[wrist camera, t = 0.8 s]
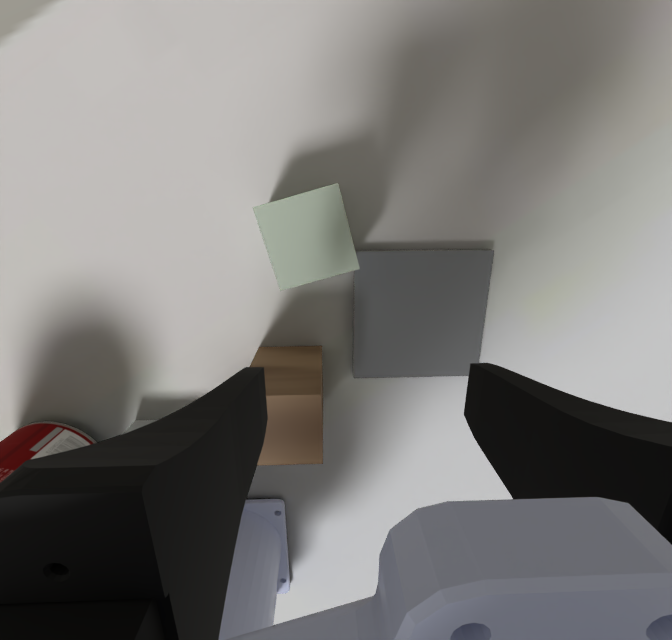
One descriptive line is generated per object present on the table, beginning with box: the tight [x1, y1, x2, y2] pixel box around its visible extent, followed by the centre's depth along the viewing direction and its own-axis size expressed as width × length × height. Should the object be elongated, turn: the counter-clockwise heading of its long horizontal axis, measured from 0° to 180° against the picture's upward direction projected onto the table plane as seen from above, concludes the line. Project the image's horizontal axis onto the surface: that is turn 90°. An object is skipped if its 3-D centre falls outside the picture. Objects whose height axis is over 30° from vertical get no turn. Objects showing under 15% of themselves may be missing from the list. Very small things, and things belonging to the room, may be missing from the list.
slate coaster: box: [353, 249, 494, 378], centre depth 21 cm, size 8×8×1 cm
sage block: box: [253, 183, 360, 291], centre depth 18 cm, size 4×4×4 cm
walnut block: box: [250, 346, 323, 465], centre depth 20 cm, size 4×4×6 cm
